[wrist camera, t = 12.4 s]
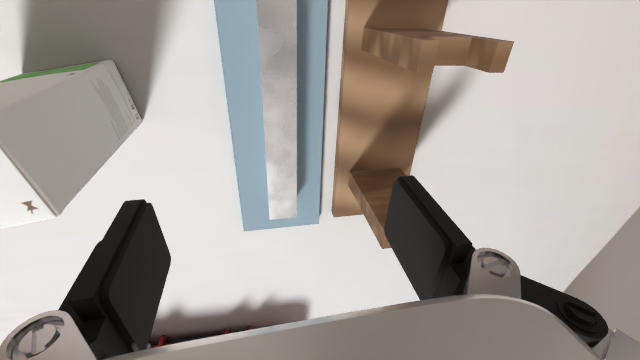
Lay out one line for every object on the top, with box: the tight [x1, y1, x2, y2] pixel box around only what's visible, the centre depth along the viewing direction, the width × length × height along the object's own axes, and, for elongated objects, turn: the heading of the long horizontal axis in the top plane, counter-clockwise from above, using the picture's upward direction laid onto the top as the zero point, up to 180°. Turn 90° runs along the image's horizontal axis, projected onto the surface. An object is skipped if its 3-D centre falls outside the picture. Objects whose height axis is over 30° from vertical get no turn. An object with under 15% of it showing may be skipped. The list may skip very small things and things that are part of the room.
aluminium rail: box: [256, 0, 297, 220], centre depth 30 cm, size 22×3×3 cm, turn 178°
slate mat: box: [214, 0, 328, 231], centre depth 32 cm, size 30×10×1 cm, turn 178°
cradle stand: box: [332, 0, 514, 249], centre depth 29 cm, size 28×10×13 cm, turn 178°
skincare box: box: [0, 60, 142, 230], centre depth 21 cm, size 8×7×16 cm
